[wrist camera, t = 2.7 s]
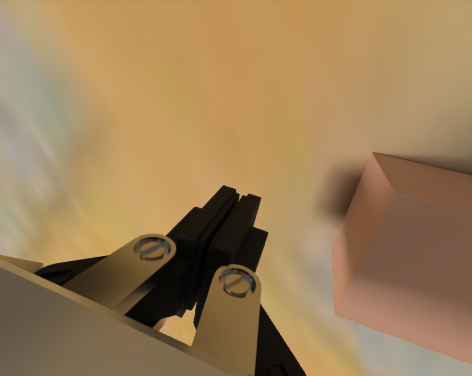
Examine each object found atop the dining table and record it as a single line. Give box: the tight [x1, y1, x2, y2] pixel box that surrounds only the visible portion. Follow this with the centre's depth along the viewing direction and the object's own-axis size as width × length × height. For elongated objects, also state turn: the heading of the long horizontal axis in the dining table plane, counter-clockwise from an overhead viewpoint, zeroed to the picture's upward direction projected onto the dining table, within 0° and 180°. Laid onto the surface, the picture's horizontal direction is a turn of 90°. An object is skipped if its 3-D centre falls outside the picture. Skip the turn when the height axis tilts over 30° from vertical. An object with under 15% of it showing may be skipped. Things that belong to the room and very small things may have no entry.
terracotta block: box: [332, 152, 472, 364], centre depth 11 cm, size 6×8×5 cm
